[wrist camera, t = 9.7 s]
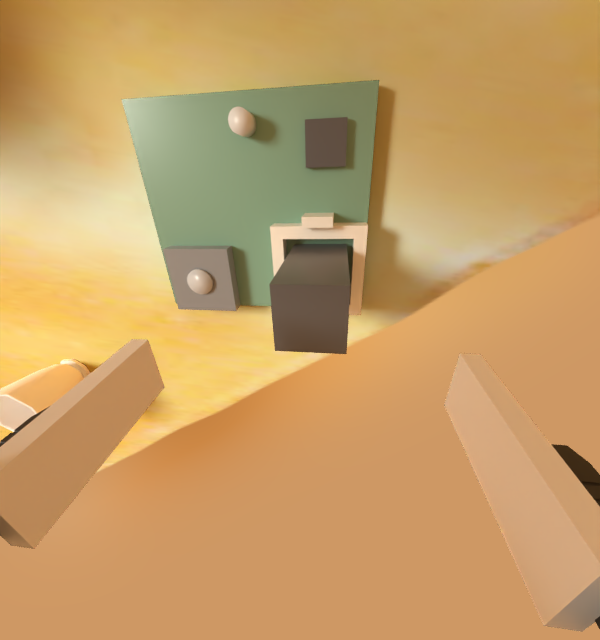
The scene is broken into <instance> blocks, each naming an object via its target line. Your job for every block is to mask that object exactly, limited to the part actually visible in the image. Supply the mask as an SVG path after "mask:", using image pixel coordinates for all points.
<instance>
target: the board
mask: <svg viewBox="0 0 600 640" xmlns="http://www.w3.org/2000/svg"><path fill="white" fill-rule="evenodd" d="M378 89H379V80H373V81H360V82H346V83H333V84H320V85H306V86H293V87H280V88H266V89H253V90H240V91H226V92H213V93H200V94H186V95H173V96H160V97H147V98H133V99H122V102H123V106H124V110H125V114H126V117H127V121H128V125H129V129H130V132H131V136H132V140H133V144H134V147H135V151H136V155H137V159H138V162H139V166H140V170H141V174H142V177H143V181H144V185H145V189H146V192H147V196H148V200H149V204H150V207H151V211H152V215H153V219H154V222H155V226H156V230H157V234H158V237H159V241H160V245H161V249H162V252H163V249H164V248H167V247H169V246H232V251H233V258H234V265H235V272H236V279H237V285H238V292H239V299H240V305H251V306H271V298H270V286H269V284H270V282H271V281H272V279H273V278H274V272H273V260H272V247H271V234H270V226H271V225H273V224H274V223H302V221H301V217H302V216H303V215H304V214H305V213H334V223H358V222H366V223H368V211H369V199H370V187H371V175H372V162H373V150H374V138H375V126H376V113H377V101H378ZM286 243H287V255H288V254H289V252H290V251H291V249H292V248H293V246H294V244H347V255H348V265H349V276H350V282H351V266H352V249H353V239H286ZM163 256H164V252H163ZM164 260H165V264H166V267H167V263H166V259H165V256H164ZM167 271H168V267H167ZM168 275H169V279H170V282H171V278H170V274H169V271H168ZM171 286H172V282H171ZM172 290H173V294H174V297H175V293H174V289H173V286H172ZM175 301H176V297H175ZM176 303H177V301H176Z"/></svg>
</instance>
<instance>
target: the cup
mask: <svg viewBox="0 0 600 640" xmlns="http://www.w3.org/2000/svg"><path fill="white" fill-rule="evenodd" d="M89 374H90V372H89V370H88V368H87V367H86V366H85V365H84V364H82V363H80V362H78V361H77V360H75V359H63V360H62V361H61V363H60V364H55V365H52V366H49V367H47V368H44V369H41V370H39V371H36V372H34V373H32V374H30V375H28V376H26V377H24V378H22V379H20V380H18V381H16V382H14V383H11V384H9V385H7V386H5V387H3V388H1V389H0V425H1V426H3V427H5V428H7V429H9V430H11V431H13V432H14V430H15V429H16V428H18V427H19V426H20V425H21V424H23V423H24V422H25V421H26V420H28V419H29V418H30V417H32V416H33V415H35V414H37V413H39V412H40V411H42V410H44V409H46V408H47V407H49V406H51V405H52V404H53V403H55V402H56V401H57V400H58V399H60V398H61V397H62V396H63V395H64V394H66V393H67V392H68V391H69V390H71V389H72V388H73V387H74V386H75V385H77V384H78V383H79V382H80V381H82V380H83V379H84V378H85V377H87V376H88V375H89Z"/></svg>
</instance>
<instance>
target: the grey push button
mask: <svg viewBox="0 0 600 640" xmlns="http://www.w3.org/2000/svg"><path fill="white" fill-rule="evenodd" d="M163 252H164V256H165V259H166V263H167V267H168V271H169V274H170V278H171V282H172V286H173V289H174V293H175V297H176V301H177V305H178V308H179V309H192V310H225V311H236V310H237V309H238V308H239V306H240V299H239V292H238V285H237V279H236V272H235V265H234V258H233V251H232V246H169V247H167V248H164V249H163Z"/></svg>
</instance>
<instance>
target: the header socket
mask: <svg viewBox="0 0 600 640" xmlns="http://www.w3.org/2000/svg"><path fill="white" fill-rule="evenodd" d="M301 221H302V223H274V224H273V225H271V226H270V234H271V247H272V260H273V272H274V276H275V275H276V273H277V271H278V270H279V268H280V267H281V265H282V263H283V262H284V260H285V259H286V257H287V243H286V239H353V249H352V266H351V282H350V301H349V315H361V305H362V293H363V281H364V269H365V257H366V245H367V233H368V225H367V223H366V222H358V223H334V213H305V214H304V215H303V216H302V217H301Z"/></svg>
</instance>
